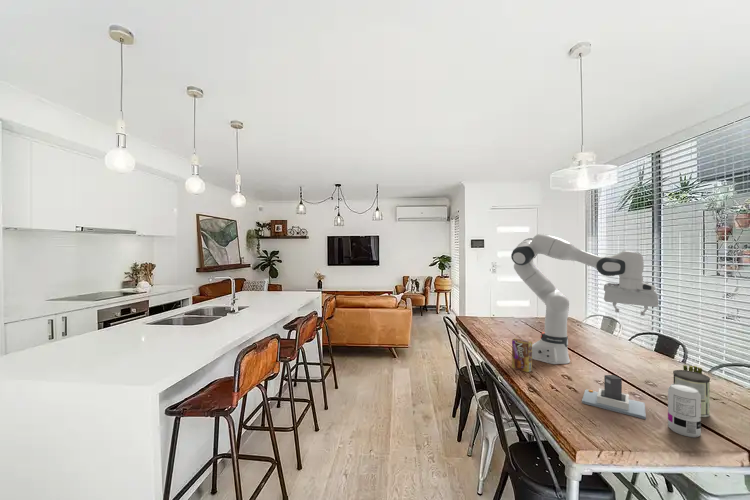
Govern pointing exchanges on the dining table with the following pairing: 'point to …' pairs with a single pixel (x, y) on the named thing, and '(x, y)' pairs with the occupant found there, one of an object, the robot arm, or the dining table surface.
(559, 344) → the robot arm
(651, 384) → the dining table surface
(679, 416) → the supplement can
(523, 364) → the candy box
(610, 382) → the plug
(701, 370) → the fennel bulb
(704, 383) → the coffee can
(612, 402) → the socket base
